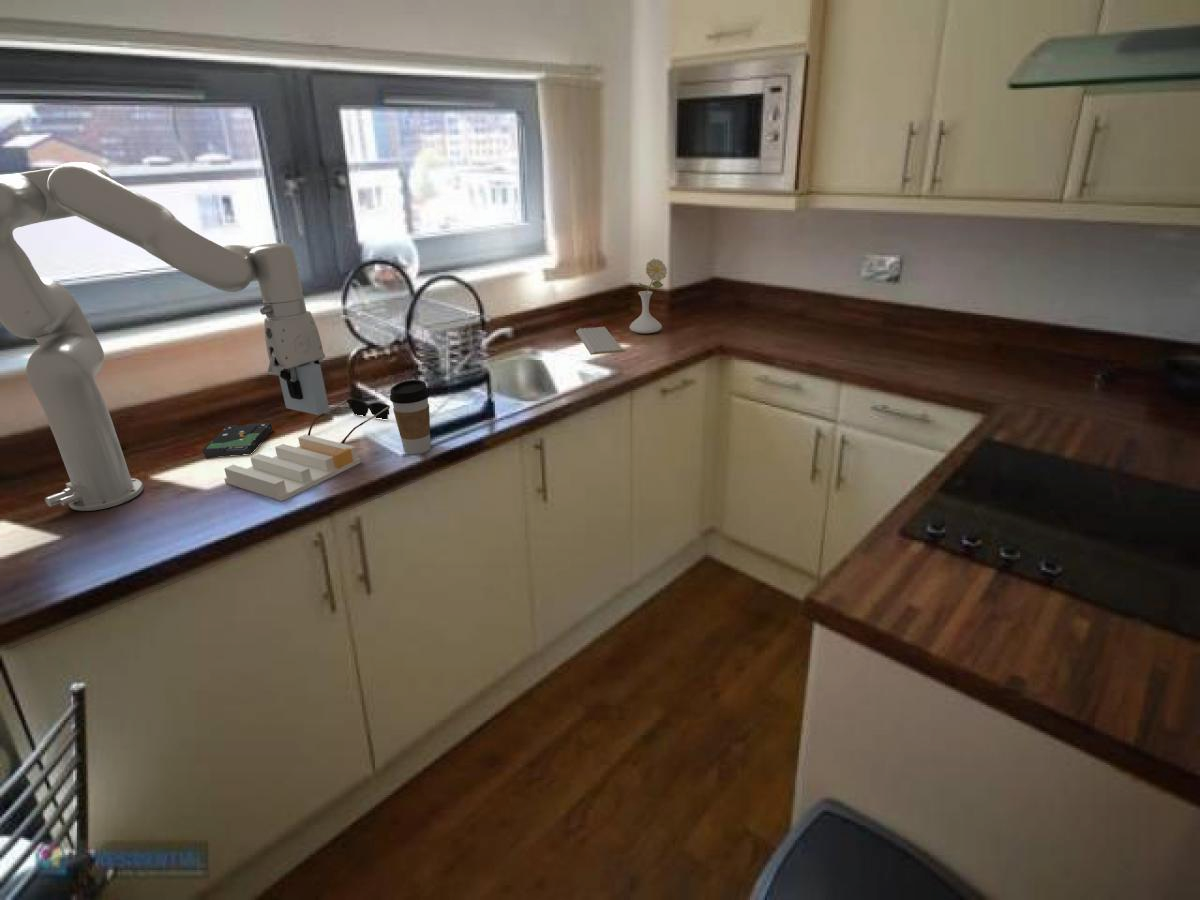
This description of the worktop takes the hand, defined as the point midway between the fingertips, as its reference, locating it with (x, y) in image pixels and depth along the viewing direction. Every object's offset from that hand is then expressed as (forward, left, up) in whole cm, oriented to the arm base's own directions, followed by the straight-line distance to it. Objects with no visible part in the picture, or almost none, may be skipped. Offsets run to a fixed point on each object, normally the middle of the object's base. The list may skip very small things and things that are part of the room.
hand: (304, 394), depth 148 cm
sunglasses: (+17, +9, -16) cm, 25 cm away
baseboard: (+111, -5, -16) cm, 112 cm away
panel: (0, 0, -3) cm, 3 cm away
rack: (-6, 0, -15) cm, 17 cm away
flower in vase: (+129, -16, -16) cm, 131 cm away
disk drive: (-1, +26, -16) cm, 30 cm away
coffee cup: (+15, -15, -16) cm, 26 cm away
